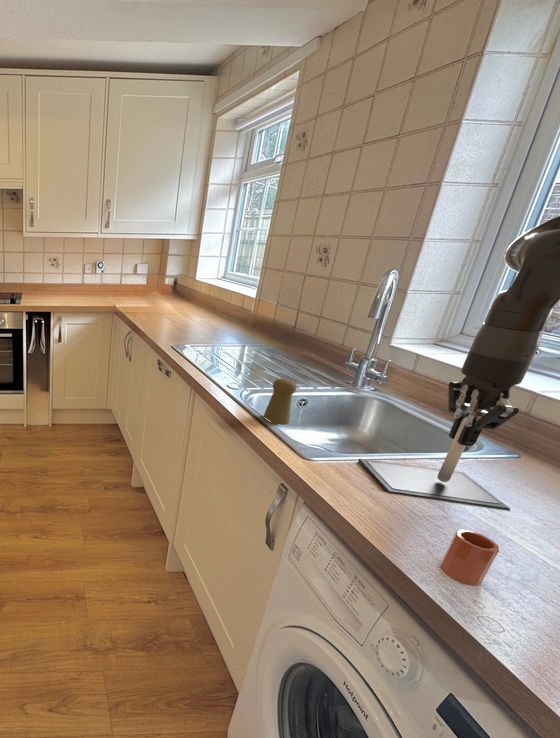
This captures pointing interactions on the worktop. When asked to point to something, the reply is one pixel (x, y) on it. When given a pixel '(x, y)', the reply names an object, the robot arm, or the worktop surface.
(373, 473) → the tablet
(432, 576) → the worktop surface
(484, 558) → the pen cup
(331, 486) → the worktop surface
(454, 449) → the beige wooden rod
